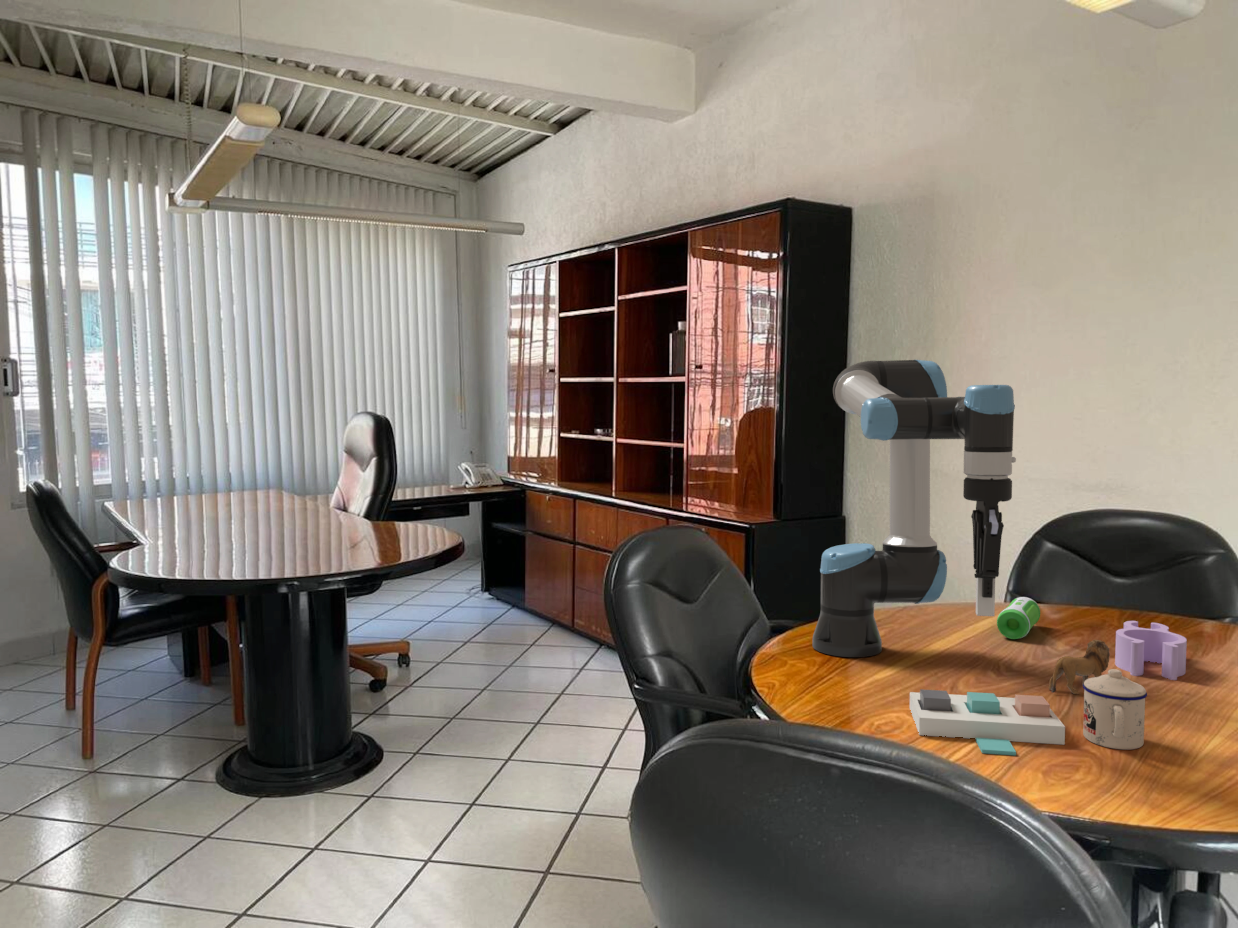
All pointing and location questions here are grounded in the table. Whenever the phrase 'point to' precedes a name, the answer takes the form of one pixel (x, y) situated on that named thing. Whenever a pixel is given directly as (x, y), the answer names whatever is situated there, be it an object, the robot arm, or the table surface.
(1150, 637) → the clip
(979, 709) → the teal button
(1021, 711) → the terracotta button
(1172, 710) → the table surface
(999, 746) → the tile
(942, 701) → the charcoal button
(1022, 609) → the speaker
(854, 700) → the table surface
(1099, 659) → the lion figurine
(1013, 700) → the button board
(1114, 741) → the teacup with lid
